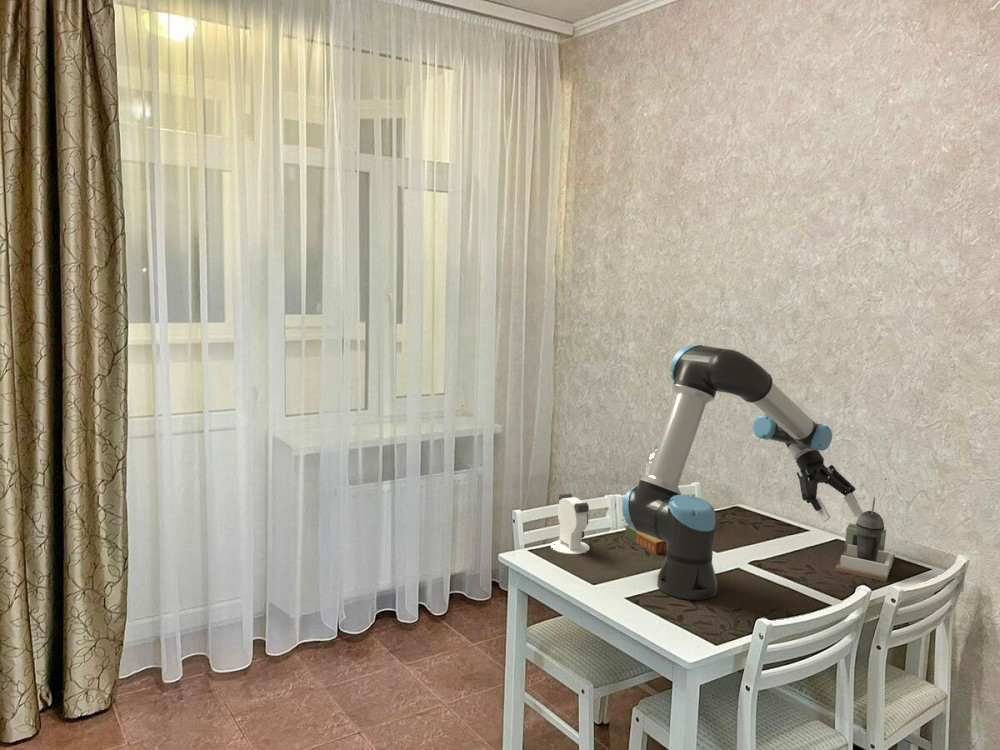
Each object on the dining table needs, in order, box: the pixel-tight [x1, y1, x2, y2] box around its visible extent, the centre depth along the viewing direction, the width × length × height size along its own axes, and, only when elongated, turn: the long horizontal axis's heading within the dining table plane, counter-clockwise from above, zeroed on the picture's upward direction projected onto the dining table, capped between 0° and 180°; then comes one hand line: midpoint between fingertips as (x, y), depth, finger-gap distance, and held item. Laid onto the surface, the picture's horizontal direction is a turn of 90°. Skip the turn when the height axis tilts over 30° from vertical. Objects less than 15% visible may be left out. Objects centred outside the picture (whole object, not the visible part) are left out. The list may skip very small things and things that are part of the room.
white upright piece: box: [550, 493, 590, 555], centre depth 228 cm, size 12×11×15 cm
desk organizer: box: [834, 522, 896, 582], centre depth 223 cm, size 22×13×8 cm, turn 148°
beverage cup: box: [855, 497, 885, 562], centre depth 219 cm, size 7×7×20 cm
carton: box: [624, 524, 667, 555], centre depth 235 cm, size 8×16×4 cm, turn 24°
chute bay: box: [840, 544, 894, 577], centre depth 221 cm, size 12×12×3 cm
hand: (843, 517), depth 227 cm, fingers open, 13 cm apart
